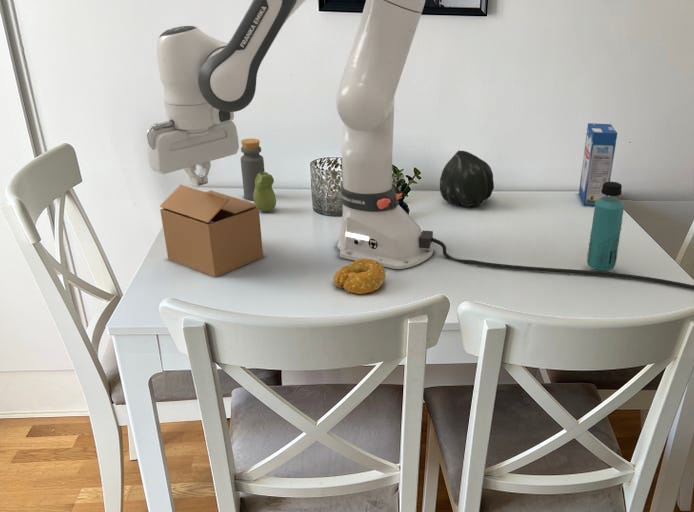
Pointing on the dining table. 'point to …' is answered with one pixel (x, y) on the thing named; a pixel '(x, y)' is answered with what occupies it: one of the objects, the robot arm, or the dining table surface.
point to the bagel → (360, 276)
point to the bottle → (250, 165)
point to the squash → (466, 180)
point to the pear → (264, 192)
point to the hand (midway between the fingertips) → (200, 184)
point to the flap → (194, 203)
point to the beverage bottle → (606, 228)
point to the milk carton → (597, 162)
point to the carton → (215, 237)
